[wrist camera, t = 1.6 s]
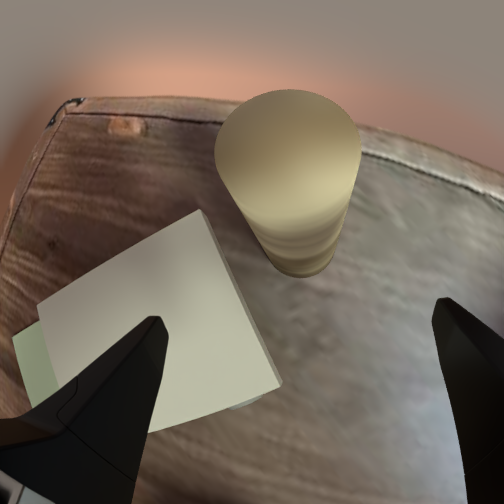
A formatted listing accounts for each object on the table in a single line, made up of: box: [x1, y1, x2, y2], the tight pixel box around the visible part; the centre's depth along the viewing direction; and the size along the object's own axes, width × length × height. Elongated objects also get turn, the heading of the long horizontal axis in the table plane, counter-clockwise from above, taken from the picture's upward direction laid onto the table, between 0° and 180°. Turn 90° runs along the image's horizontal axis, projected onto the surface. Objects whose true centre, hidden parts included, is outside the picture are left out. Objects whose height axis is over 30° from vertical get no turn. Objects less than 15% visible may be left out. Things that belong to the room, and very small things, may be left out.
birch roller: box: [214, 89, 361, 278], centre depth 16 cm, size 5×5×13 cm
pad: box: [12, 320, 60, 408], centre depth 24 cm, size 9×9×1 cm
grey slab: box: [37, 209, 282, 433], centre depth 21 cm, size 13×16×4 cm
